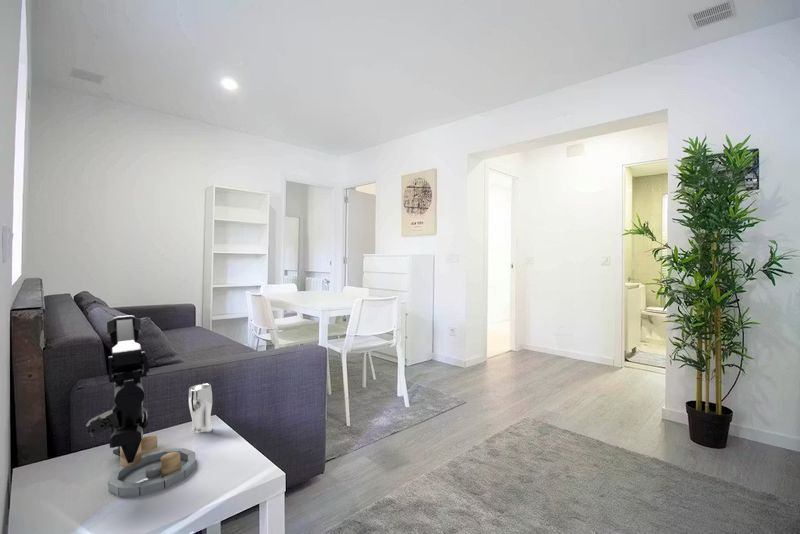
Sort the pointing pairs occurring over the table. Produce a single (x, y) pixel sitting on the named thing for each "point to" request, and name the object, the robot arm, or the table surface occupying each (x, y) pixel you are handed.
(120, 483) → the tray
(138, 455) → the bead
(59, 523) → the table surface
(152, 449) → the bead
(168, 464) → the tan short rounded cylinder
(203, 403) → the beer glass
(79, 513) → the table surface
